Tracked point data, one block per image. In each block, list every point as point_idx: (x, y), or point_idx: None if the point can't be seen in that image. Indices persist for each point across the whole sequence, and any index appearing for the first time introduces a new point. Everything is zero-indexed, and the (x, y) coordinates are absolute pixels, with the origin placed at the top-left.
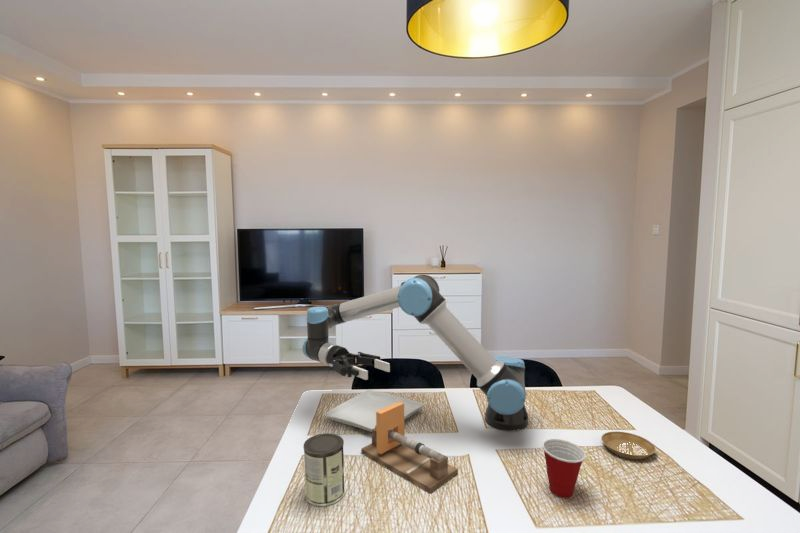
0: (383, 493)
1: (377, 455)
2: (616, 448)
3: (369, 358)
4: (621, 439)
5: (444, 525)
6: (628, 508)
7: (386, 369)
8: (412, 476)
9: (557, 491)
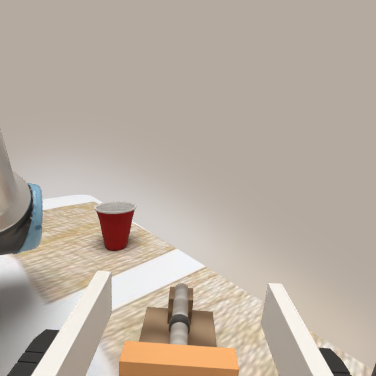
0: (273, 368)
1: None
2: None
3: None
4: None
5: (237, 287)
6: None
7: (107, 312)
8: (213, 343)
9: (127, 241)
